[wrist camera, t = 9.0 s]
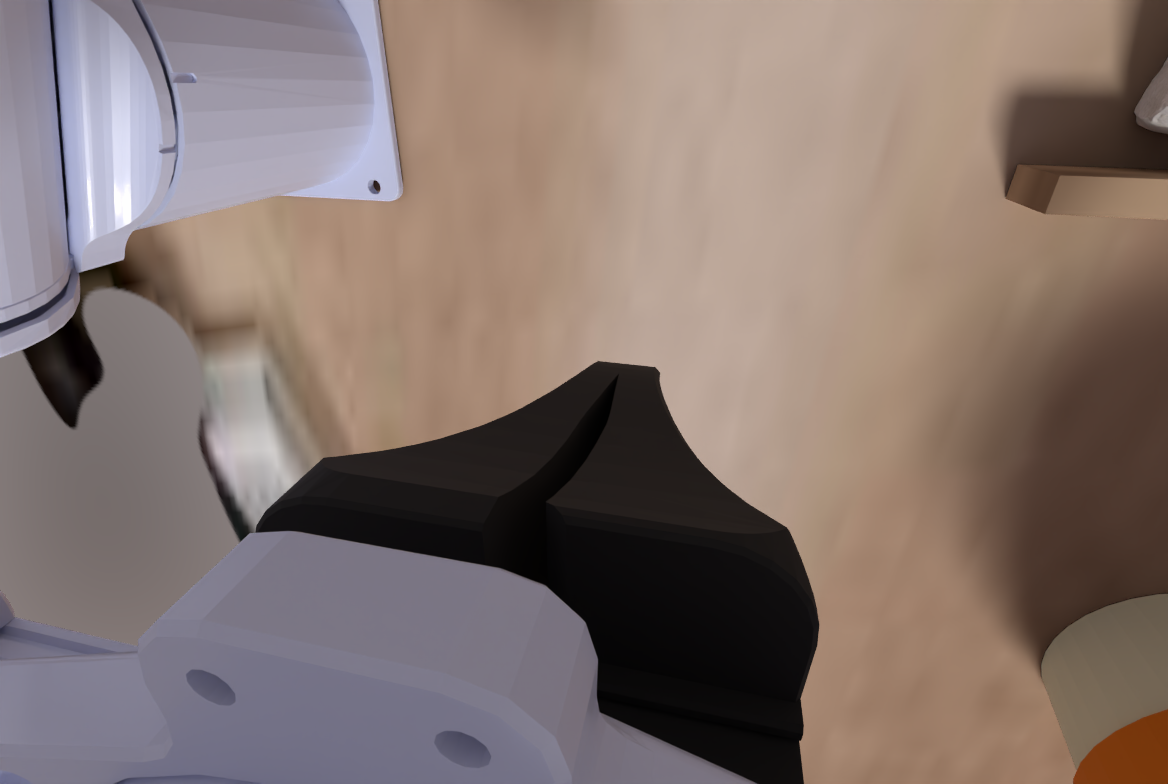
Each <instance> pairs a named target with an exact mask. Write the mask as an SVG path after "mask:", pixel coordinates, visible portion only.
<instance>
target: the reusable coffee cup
mask: <svg viewBox="0 0 1168 784" xmlns="http://www.w3.org/2000/svg"><path fill="white" fill-rule="evenodd" d="M1041 674H1042V680H1043V682H1044V685H1045V688H1046V690H1047V693H1048V696H1049V698H1050V701H1051V704H1052V706H1053V709H1054V712H1055V714H1056V717H1057V720H1058V722H1059V725H1060V728H1061V730H1062V733H1063V736H1064V738H1065V741H1066V743H1067V746H1068V749H1069V751H1070V754H1071V757H1072V759H1073V762H1074V765H1075V767H1076V770H1077V772H1076V774H1075V776H1074V779H1073V784H1168V594H1156V595H1151V596H1145V597H1139V598H1134V599H1129V600H1126V601H1122V602H1119V603H1116V604H1112V605H1109V606H1106V607H1103V608H1101V609H1099V610H1097V611H1094V612H1092V613H1090V614H1087V615H1085V616H1084V617H1082V618H1080V619H1079V620H1077V621H1076V622H1074V623H1072V624H1071V625H1069V626H1068V627H1067V628H1065V629H1064V630H1063V631H1062V632H1061V633H1060V634H1059V635H1058V636H1057V637H1056V638H1055V639H1054V640H1053V641H1052V643H1051V644H1050V646H1049V647H1048V649H1047V650H1046V652H1045V655H1044V658H1043V661H1042V664H1041Z"/></svg>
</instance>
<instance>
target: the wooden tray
mask: <svg viewBox="0 0 1168 784" xmlns="http://www.w3.org/2000/svg"><path fill="white" fill-rule="evenodd" d="M1006 199H1008V200H1010V201H1013V202H1016V203H1018V204H1021V205H1023V206H1026V207H1028V208H1031V209H1033V210H1036V211H1039V212H1041V213H1044V214H1055V215H1076V216H1097V217H1117V218H1138V219H1159V220H1168V170H1164V169H1135V168H1106V167H1077V166H1047V165H1017V168H1016V171H1015V174H1014V176H1013V179H1012V182H1011V185H1010V188H1009V191H1008V193H1007V196H1006Z"/></svg>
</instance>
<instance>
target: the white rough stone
mask: <svg viewBox="0 0 1168 784" xmlns="http://www.w3.org/2000/svg"><path fill="white" fill-rule="evenodd" d="M1134 113H1135V115H1136V122H1137V124H1138V125H1139V126H1142V127H1144V128H1145V129H1148V130H1151V131H1154V132H1160V133H1165V134H1168V58H1167V59H1166V61H1165V62H1164V65H1163V67H1162V68H1161V70H1160V71H1159V73H1158V74H1157V75H1156V76H1155V77H1154V78H1153V80H1152V81H1151V83H1150V84H1149V86H1148V88H1147V89H1146V91H1145V92H1144V94H1143V96H1142V98H1141V99H1140V101H1139V102H1138V104H1137V106H1136V108H1135V111H1134Z"/></svg>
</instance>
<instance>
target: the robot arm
mask: <svg viewBox="0 0 1168 784" xmlns="http://www.w3.org/2000/svg"><path fill="white" fill-rule="evenodd" d="M374 180H376V181H377V182H378V183H379V184H380V187H381V190H380V192H377V191H376V190H375V188H374V186H373V183H374ZM402 193H403V183H402V175H401V168H400V160H399V153H398V146H397V138H396V131H395V123H394V116H393V108H392V101H391V94H390V86H389V79H388V71H387V64H386V56H385V49H384V42H383V34H382V27H381V19H380V12H379V5H378V0H0V357H3V356H6V355H9V354H11V353H14V352H17V351H20V350H22V349H25V348H27V347H29V346H31V345H33V344H35V343H37V342H39V341H41V340H43V339H45V338H47V337H49V336H50V335H52V334H53V333H54V332H56V331H57V330H59V329H60V328H61V327H63V326H64V325H65V324H66V323H67V321H68V320H69V319H70V318H71V317H72V316H73V315H74V312H75V310H76V308H77V306H78V303H79V300H80V282H79V274H78V273H79V272H82V271H86V270H89V269H93V268H96V267H100V266H103V265H107V264H110V263H114V262H117V261H121V260H123V259H124V255H125V245H126V242H127V240H128V238H129V236H130V234H131V233H132V232H133V231H134V230H138V229H142V228H146V227H150V226H154V225H158V224H163V223H167V222H171V221H175V220H179V219H183V218H187V217H191V216H195V215H200V214H204V213H208V212H212V211H216V210H220V209H224V208H228V207H232V206H237V205H241V204H245V203H249V202H253V201H257V200H261V199H265V198H270V197H274V196H278V195H283V196H302V197H320V198H338V199H356V200H375V201H393V200H396V199H398V198H399V197H401V195H402ZM659 379H660V372H659V371H658V370H657V369H656V368H655V367H648V366H639V365H629V364H620V363H610V362H601V361H598V362H596V363H594V364H592V365H591V366H589V367H588V368H586V369H585V370H583V371H582V372H580V373H579V374H577V375H576V376H574V377H573V378H571V379H570V380H568V381H567V382H565V383H564V384H562V385H561V386H559V387H558V388H556V389H554V390H553V391H551V392H550V393H548V394H546V395H544V396H542V397H541V398H539V399H537V400H535V401H533V402H532V403H530V404H528V405H526V406H525V407H523V408H521V409H519V410H517V411H515V412H513V413H510V414H508V415H506V416H504V417H501V418H499V419H497V420H494V421H492V422H489V423H487V424H484V425H482V426H479V427H476V428H473V429H470V430H466V431H463V432H460V433H457V434H454V435H451V436H447V437H444V438H441V439H437V440H433V441H429V442H425V443H420V444H416V445H411V446H406V447H401V448H396V449H390V450H384V451H378V452H370V453H362V454H354V455H346V456H338V457H327V458H323V459H322V460H321V461H320V462H319V463H317V464H316V465H315V466H314V467H313V468H312V469H311V470H310V471H309V472H308V473H307V474H305V475H304V476H303V477H302V478H301V479H300V480H299V481H298V482H297V483H296V484H295V485H293V486H292V487H291V488H290V489H289V490H288V491H287V492H286V493H285V494H284V495H283V496H282V497H280V498H279V499H278V500H277V501H276V502H275V503H274V504H273V505H272V506H271V507H270V508H268V509H267V510H266V511H265V513H264V515H263V516H262V518H261V519H260V521H259V523H258V524H257V526H256V533H250V534H249V535H248V536H247V537H245V538H244V539H243V540H242V541H241V542H240V543H239V544H238V545H237V546H236V547H235V548H234V549H233V550H232V551H231V552H229V553H228V554H227V555H226V556H225V557H224V558H223V559H222V560H221V561H220V562H219V563H218V564H217V565H215V567H213V568H212V569H211V570H210V571H209V572H208V573H207V574H206V575H205V576H204V577H203V578H202V579H201V580H200V581H198V582H197V583H196V584H195V585H194V586H193V587H192V588H191V589H190V590H189V591H188V592H187V593H186V594H185V595H183V597H181V598H180V599H179V600H178V601H177V602H176V603H175V604H174V605H173V606H172V607H171V608H169V610H167V611H166V612H165V613H164V614H163V615H162V616H161V617H160V618H159V619H158V620H157V621H156V622H155V623H154V624H153V625H152V626H151V627H150V628H149V629H148V630H147V631H146V632H145V633H144V634H143V635H142V636H141V637H140V638H139V639H138V646H135V645H131V644H127V643H122V642H119V641H114V640H110V639H106V638H102V637H97V636H93V635H89V634H85V633H81V632H76V631H72V630H67V629H63V628H59V627H55V626H51V625H47V624H42V623H38V622H34V621H30V620H25V619H21V618H17V617H14V610H13V608H12V606H11V604H10V602H9V601H8V599H7V598H6V596H5V595H4V594H3V592H1V590H0V784H804V780H803V772H802V763H801V754H800V745H799V740H800V741H801V739H802V736H803V727H804V724H803V716H802V708H801V700H800V698H801V695H802V692H803V689H804V686H805V682H806V679H807V676H808V673H809V670H810V666H811V663H812V660H813V657H814V654H815V651H816V647H817V642H818V632H819V620H818V614H817V607H816V603H815V599H814V595H813V592H812V588H811V585H810V582H809V579H808V576H807V573H806V571H805V568H804V565H803V562H802V559H801V557H800V555H799V552H798V550H797V547H796V545H795V543H794V540H793V538H792V536H791V534H790V532H789V530H788V529H787V527H785V526H783V525H782V524H780V523H778V522H777V521H775V520H774V519H772V518H770V517H769V516H767V515H765V514H764V513H762V512H760V511H759V510H757V509H756V508H754V507H752V506H751V505H749V504H748V503H746V502H745V501H744V500H742V499H741V498H740V497H738V496H737V495H736V494H735V493H733V492H732V491H731V490H729V489H728V488H727V487H726V486H725V485H723V484H722V483H721V482H720V481H719V480H718V479H717V478H716V477H715V476H714V475H713V474H712V473H711V472H710V471H709V470H708V469H707V468H706V467H705V466H704V465H703V464H702V463H701V462H700V460H699V459H698V458H697V457H696V455H695V454H694V453H693V451H692V450H691V449H690V447H689V446H688V444H687V443H686V441H685V440H684V438H683V437H682V435H681V433H680V432H679V430H678V428H677V426H676V424H675V423H674V421H673V418H672V416H671V414H670V412H669V410H668V407H667V405H666V402H665V400H664V397H663V394H662V390H661V387H660V382H659Z"/></svg>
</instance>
